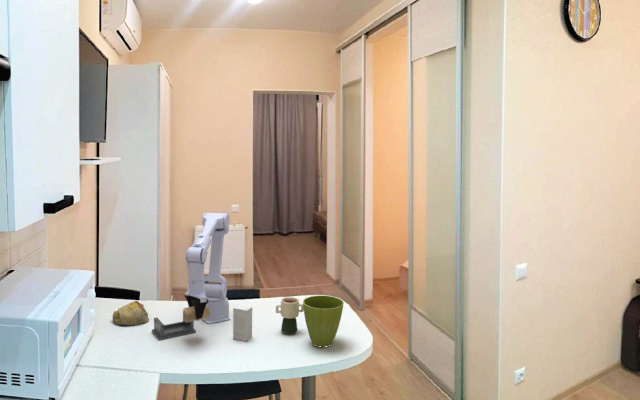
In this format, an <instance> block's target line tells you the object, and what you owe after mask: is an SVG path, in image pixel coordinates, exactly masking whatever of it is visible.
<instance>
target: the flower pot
mask: <svg viewBox="0 0 640 400" xmlns="http://www.w3.org/2000/svg"><path fill="white" fill-rule="evenodd" d="M302 304H303V308H304V311H303V315H304V319H305V324H306V329H307V332H308V335H309V339H310V341H311V344H312V345H313V344H314V345H316V346H321V347H325V346H329V345H331V344H332V345H333V343H334V340H335V338H336V336H337V333H338V331H339V326H340V323H341V318H342V315H343V310H344V309H343V308H344V301H343V299H341V298H338V297H335V296H333V295H312V296H309V297H305V298H304V299H303V301H302ZM314 345H313V346H314ZM332 345H331V346H332ZM316 346H315V347H316ZM329 347H330V346H329ZM325 348H326V347H325Z"/></svg>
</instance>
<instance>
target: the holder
mask: <svg viewBox="0 0 640 400" xmlns="http://www.w3.org/2000/svg"><path fill="white" fill-rule="evenodd" d="M194 322H195V321H191V322H185V320H184V317H183V316H182V321H178V322H173V323H168V324H164V323H163V322H162V321H161V319H159V317H154V318H153V329H151V333H152V334H153V335H154V337H155V338H156V339H157V340H158V341H163V340H167V339H169V340H170V339H172V338H178V337H182V336H186V335H187V336H188V335H192V334H196V333H197V330H196V329H195V328H194V327H195V326H194V324H195V323H194Z"/></svg>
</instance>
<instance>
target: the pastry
mask: <svg viewBox="0 0 640 400" xmlns="http://www.w3.org/2000/svg"><path fill="white" fill-rule="evenodd" d="M148 316H149V313H148V311H147V309H146V308H145V305H144V304H143V303H140V302H139V301H138V300H134V301H133V302H129V303H127V304H125V305H123V306H121V307H118V308H117V310H114V311H113V313H112V321H113V323H114V324H115V325H117V326H138V325H144V324H146V323H147V324H148V322H149V321H150V318H149V317H148Z"/></svg>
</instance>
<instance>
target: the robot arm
mask: <svg viewBox="0 0 640 400" xmlns="http://www.w3.org/2000/svg"><path fill="white" fill-rule="evenodd" d="M201 219H202V220H201V222H202V230H201V233H199V234H197V235H196V237H195V239H194V241H193V243H192V245H191V246H189V247H188V248H187V249H186V251H185V261H186V262H185V263H186V268H187V280H188V281H187V286H186V292H184V298H185V300H186V303H187V305H188V306H187V307H192V306H194V309H195V316H196V319H200V318H202V317H203V313H204V309H205V307H206V305H208V308H209V318H207V319H202V320H203V321H204V322H205V323H206V324H208V325H209V324H214V323H219V322H224V321H230V320H231V319H230V301H229V299H228V297H227V292H228V285H227V284H228V281H227V279H226V278H225V277H224V276H223V275H222V274H221V272H222V260H223V249H224V239H225V235H226V234H228V233H229V229H230V215H229V214H228V213H227V212H225V213H223V212H207V211H206V212H204V213H203V214H202V218H201ZM210 246H211V247H210ZM209 248H210V256H209V264H208V265H209V266H208V267H209V268H208V274H207V275H206V276H205V263H206V262H207V258H208V254H209V253H208V250H209Z"/></svg>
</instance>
